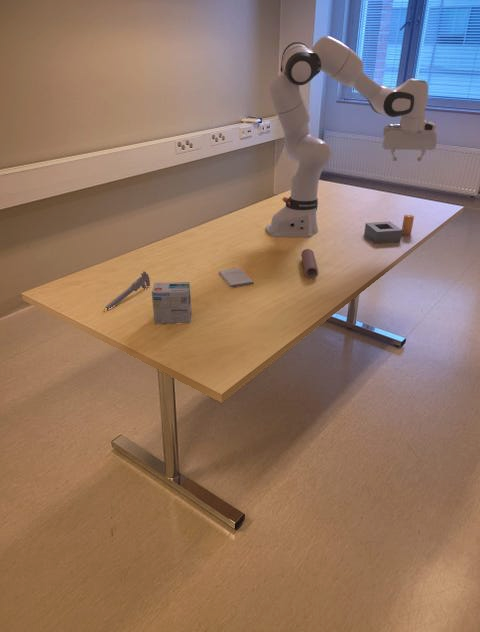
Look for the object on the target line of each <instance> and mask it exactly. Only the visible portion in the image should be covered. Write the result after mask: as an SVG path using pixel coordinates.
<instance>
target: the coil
mask: <svg viewBox="0 0 480 632" xmlns="http://www.w3.org/2000/svg"><path fill="white" fill-rule="evenodd" d="M300 255H301V261H302V267H303V272H304V275H305V277H306V278H309V279H310V280H314V279H317V277H318V275H319V268H318V266H317V262H316V261H317V260H316V257H315V253H314V251H313V250H312V249H310V248H305V249H304V250H302V251H301V254H300Z"/></svg>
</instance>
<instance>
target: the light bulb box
mask: <svg viewBox="0 0 480 632" xmlns="http://www.w3.org/2000/svg"><path fill="white" fill-rule="evenodd" d="M190 286H191V285H190V281H181V282H177V281H175V282H154V283H153V286H152V290H151V298H152V299H151V300H152V301H151V302H152V308H153V309H152V310H153V320H154V324H155V323H190V324H191V321H190V320H191V319H192V299H191V287H190Z"/></svg>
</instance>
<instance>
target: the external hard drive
mask: <svg viewBox="0 0 480 632" xmlns="http://www.w3.org/2000/svg"><path fill="white" fill-rule="evenodd" d="M218 274H219V275H220V276H221V278H222V277H223V278H222V279H223V280H224V281H225V282H227V283H226V284H227V285H228V287H230V288H231V287H233V288H237V286H239V287H245V286H249V285H251V284H252V285H254V281H253V280H252V279H251V278H250V277H249V276H248V274H246V272H245V271H244V270H243V269H242V268H241V267H235V268H229V269H222V270H219V271H218ZM252 285H251V286H252Z"/></svg>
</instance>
